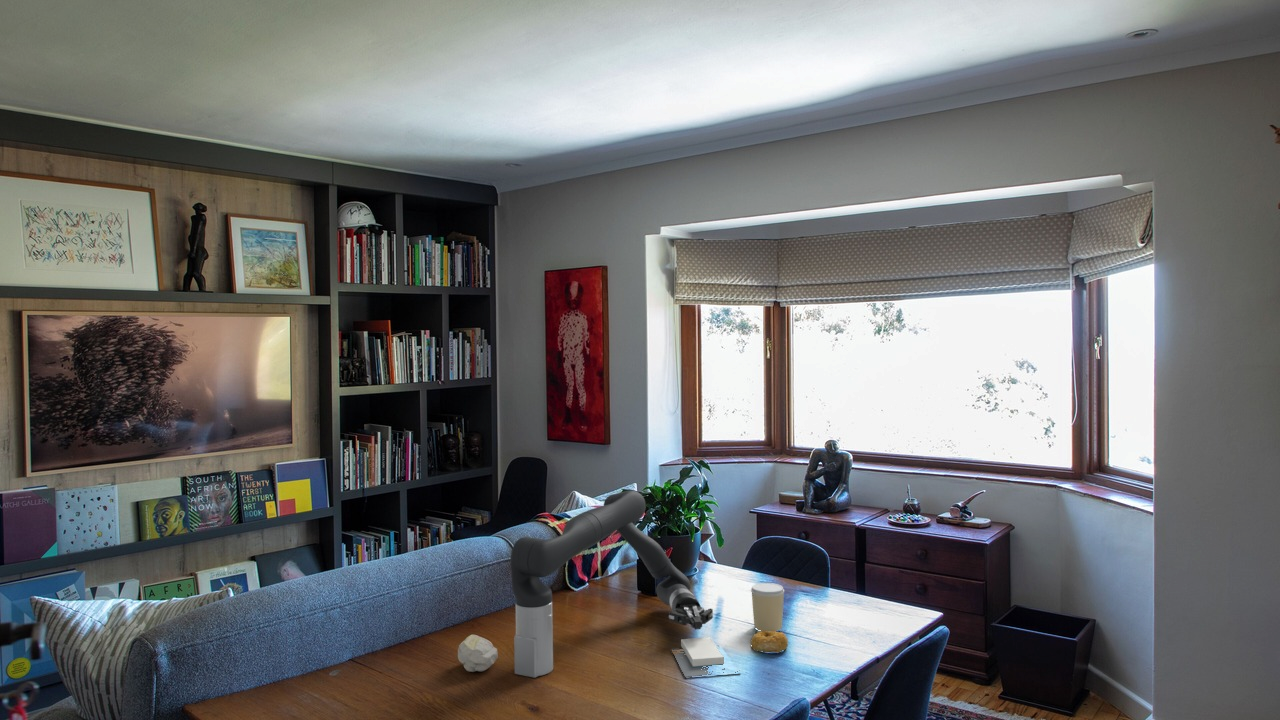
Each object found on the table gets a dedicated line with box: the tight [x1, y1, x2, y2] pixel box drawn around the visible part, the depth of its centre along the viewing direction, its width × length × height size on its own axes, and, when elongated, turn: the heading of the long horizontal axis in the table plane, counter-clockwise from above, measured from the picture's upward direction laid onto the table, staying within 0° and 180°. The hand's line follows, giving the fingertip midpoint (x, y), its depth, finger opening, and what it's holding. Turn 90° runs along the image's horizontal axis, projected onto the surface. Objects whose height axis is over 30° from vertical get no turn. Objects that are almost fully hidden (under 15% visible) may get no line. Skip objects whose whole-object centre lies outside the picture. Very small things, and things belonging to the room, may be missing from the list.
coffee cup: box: [750, 582, 785, 631], centre depth 231 cm, size 9×9×12 cm
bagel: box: [750, 631, 789, 653], centre depth 217 cm, size 10×11×5 cm
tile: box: [680, 636, 724, 667], centre depth 210 cm, size 2×8×14 cm
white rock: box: [457, 634, 499, 673], centre depth 205 cm, size 12×8×10 cm
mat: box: [671, 648, 738, 678], centre depth 207 cm, size 18×14×1 cm
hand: (698, 625), depth 214 cm, fingers closed
